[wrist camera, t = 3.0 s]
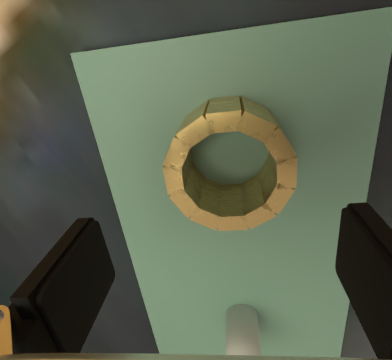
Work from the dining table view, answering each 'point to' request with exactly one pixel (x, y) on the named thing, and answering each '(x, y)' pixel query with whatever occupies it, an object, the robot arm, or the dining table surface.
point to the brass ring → (230, 193)
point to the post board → (243, 176)
